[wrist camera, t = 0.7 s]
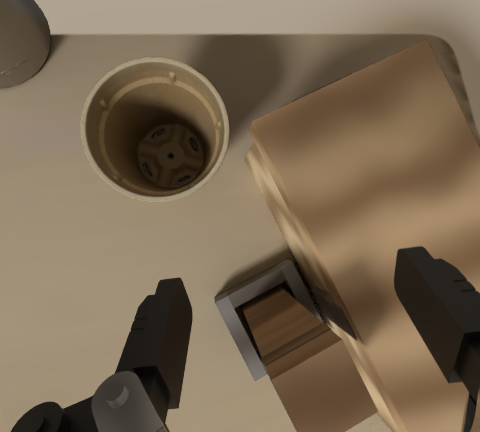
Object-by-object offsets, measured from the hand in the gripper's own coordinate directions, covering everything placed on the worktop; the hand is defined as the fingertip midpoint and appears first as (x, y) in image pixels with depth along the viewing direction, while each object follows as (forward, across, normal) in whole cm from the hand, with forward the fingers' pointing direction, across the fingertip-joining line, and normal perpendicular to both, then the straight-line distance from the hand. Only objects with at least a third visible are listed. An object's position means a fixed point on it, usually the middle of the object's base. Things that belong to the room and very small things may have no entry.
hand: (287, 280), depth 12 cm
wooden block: (+11, +2, +15) cm, 19 cm away
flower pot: (+19, +8, +1) cm, 20 cm away
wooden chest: (+14, -4, +13) cm, 19 cm away
